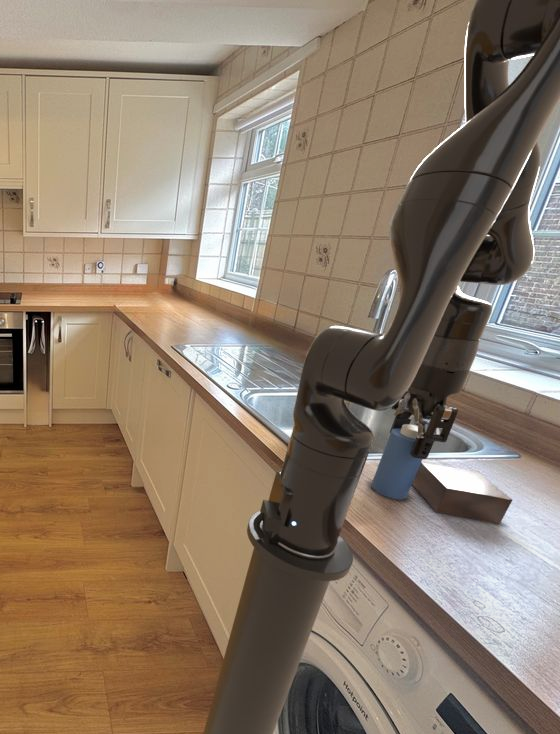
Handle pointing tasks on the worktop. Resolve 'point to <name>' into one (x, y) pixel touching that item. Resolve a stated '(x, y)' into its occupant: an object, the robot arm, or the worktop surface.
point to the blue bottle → (397, 464)
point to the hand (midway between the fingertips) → (406, 445)
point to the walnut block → (461, 493)
